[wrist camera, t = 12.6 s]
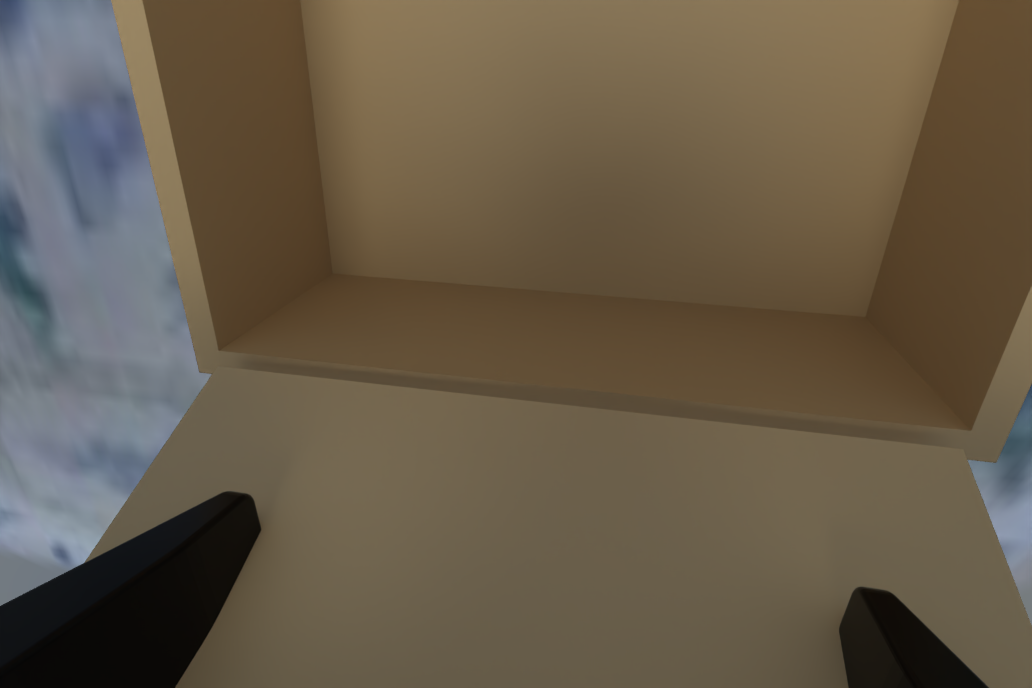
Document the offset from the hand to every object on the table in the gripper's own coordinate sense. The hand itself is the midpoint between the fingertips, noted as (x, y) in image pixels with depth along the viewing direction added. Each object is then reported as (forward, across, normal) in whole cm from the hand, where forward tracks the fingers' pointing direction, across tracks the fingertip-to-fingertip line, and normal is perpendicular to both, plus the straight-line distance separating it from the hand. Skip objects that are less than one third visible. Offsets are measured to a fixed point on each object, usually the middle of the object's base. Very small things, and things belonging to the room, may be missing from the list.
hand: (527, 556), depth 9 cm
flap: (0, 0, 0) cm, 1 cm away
